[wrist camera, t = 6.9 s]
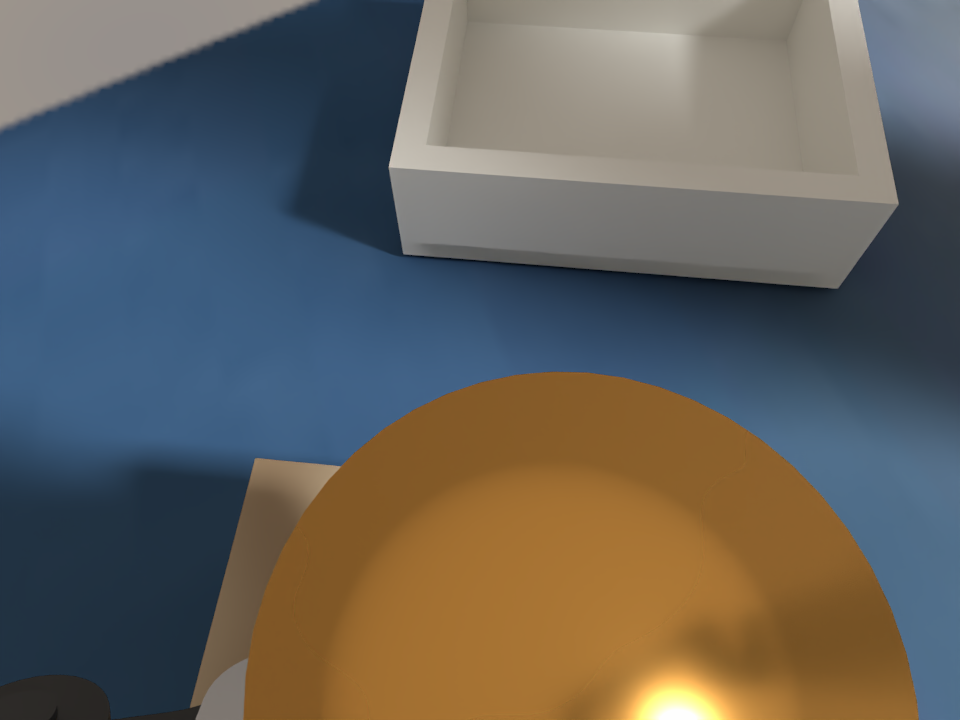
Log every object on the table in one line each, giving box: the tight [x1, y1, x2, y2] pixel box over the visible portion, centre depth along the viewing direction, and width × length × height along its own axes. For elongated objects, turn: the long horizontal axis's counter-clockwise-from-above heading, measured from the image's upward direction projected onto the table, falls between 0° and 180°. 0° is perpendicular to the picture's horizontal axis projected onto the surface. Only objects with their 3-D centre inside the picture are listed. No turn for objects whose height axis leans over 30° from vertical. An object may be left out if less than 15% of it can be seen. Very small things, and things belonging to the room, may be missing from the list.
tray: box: [389, 0, 899, 289], centre depth 22 cm, size 12×10×4 cm
